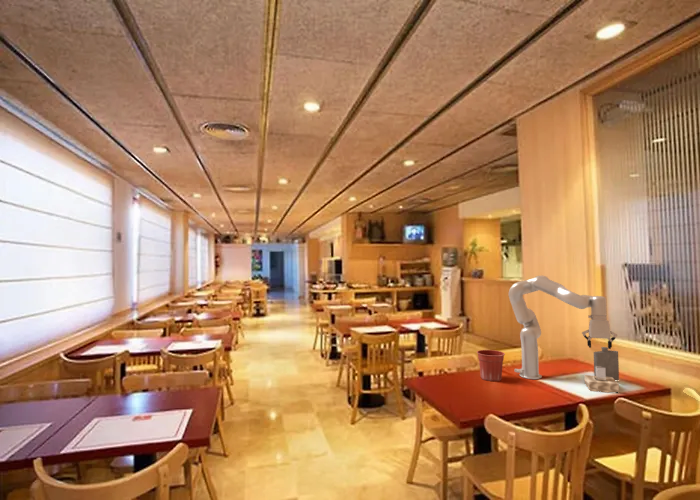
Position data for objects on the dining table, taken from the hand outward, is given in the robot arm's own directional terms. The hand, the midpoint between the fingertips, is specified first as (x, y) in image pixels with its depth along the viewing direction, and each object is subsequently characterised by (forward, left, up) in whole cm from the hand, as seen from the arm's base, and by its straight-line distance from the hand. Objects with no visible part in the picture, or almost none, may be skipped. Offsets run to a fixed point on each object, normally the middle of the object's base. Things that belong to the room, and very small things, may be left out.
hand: (599, 347), depth 226 cm
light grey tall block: (0, 0, -22) cm, 22 cm away
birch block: (0, 0, -23) cm, 23 cm away
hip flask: (+6, +17, -23) cm, 29 cm away
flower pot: (-59, 0, -23) cm, 63 cm away
